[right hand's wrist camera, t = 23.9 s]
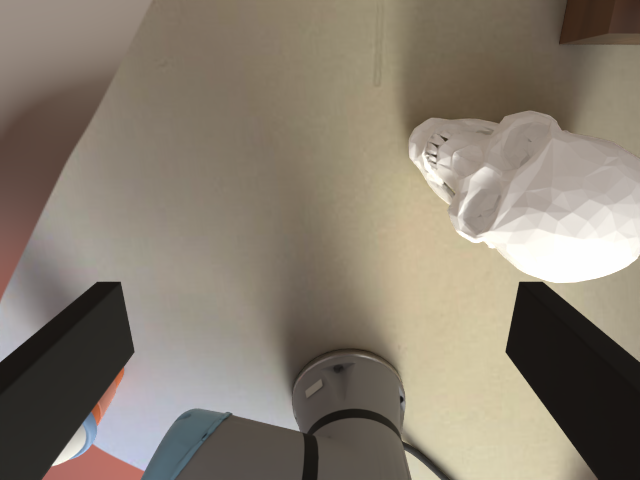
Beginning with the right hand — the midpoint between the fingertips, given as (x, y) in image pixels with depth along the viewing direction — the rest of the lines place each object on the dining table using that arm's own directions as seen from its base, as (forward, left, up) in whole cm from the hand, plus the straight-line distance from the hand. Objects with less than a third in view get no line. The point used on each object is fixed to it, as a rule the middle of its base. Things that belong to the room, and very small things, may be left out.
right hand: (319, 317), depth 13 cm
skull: (-17, -9, -32) cm, 37 cm away
